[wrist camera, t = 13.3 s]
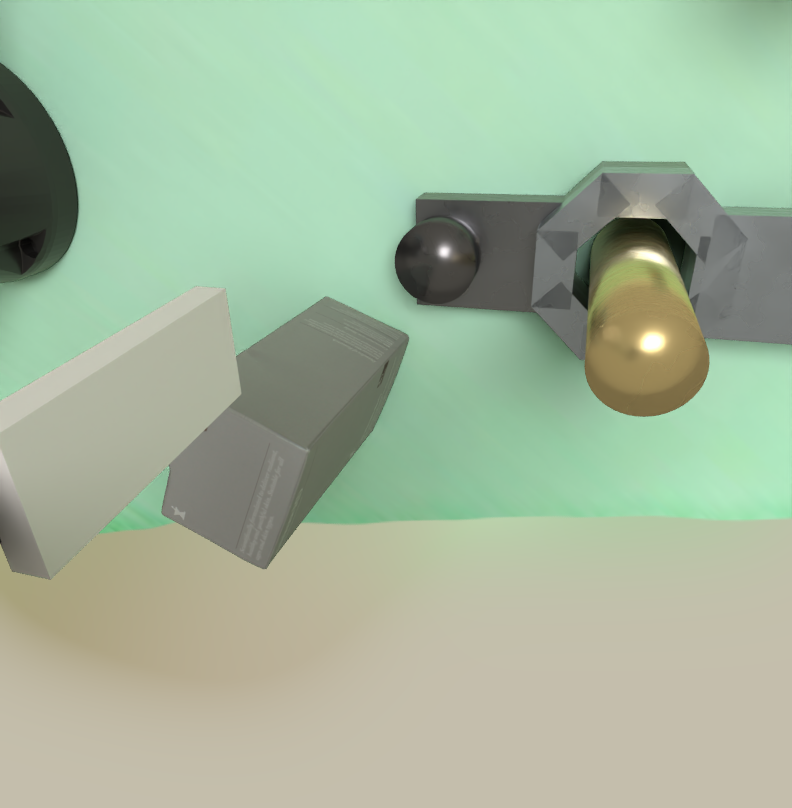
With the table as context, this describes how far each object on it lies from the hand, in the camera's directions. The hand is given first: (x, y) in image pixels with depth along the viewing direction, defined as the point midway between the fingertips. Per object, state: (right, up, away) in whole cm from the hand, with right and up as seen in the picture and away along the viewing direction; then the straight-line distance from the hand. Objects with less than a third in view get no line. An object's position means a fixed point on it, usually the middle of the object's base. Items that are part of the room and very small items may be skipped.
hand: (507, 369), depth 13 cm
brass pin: (+10, +8, +21) cm, 24 cm away
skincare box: (-6, +2, +29) cm, 30 cm away
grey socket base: (+10, +7, +21) cm, 24 cm away
